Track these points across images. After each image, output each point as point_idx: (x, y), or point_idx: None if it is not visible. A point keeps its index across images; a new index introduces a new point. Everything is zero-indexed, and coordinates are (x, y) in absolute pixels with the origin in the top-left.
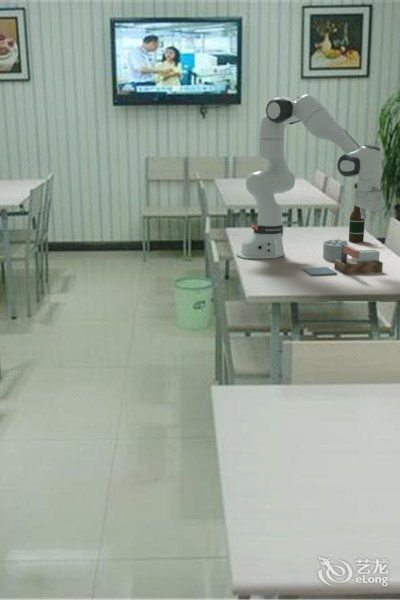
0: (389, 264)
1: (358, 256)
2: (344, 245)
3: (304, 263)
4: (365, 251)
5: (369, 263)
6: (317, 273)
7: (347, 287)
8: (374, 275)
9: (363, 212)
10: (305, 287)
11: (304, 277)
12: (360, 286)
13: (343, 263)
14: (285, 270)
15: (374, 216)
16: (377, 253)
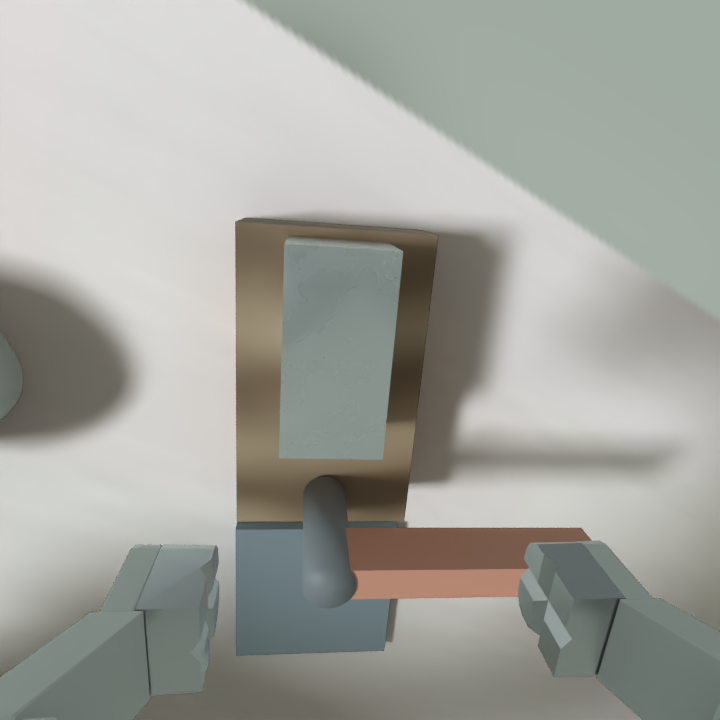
0: (185, 17)
1: (587, 539)
2: (369, 598)
3: (48, 593)
4: (343, 366)
5: (424, 345)
6: (377, 620)
7: (648, 559)
8: (486, 326)
9: (103, 701)
10: (565, 706)
11: (394, 671)
12: (662, 500)
13: (372, 511)
14: (219, 713)
15: (683, 618)
16: (398, 270)
